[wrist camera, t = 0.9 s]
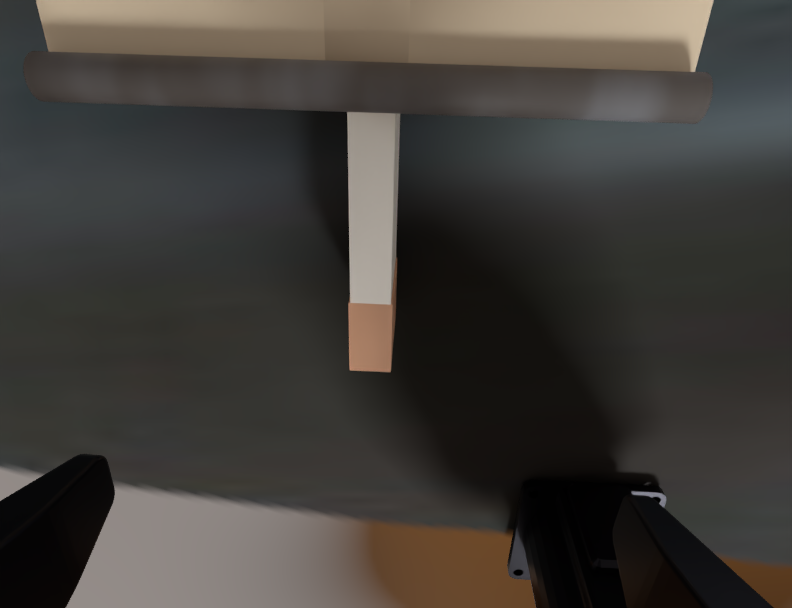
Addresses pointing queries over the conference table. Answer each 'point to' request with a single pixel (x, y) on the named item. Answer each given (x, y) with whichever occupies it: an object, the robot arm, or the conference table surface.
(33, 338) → the conference table surface
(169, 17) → the tan box with rod
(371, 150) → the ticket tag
